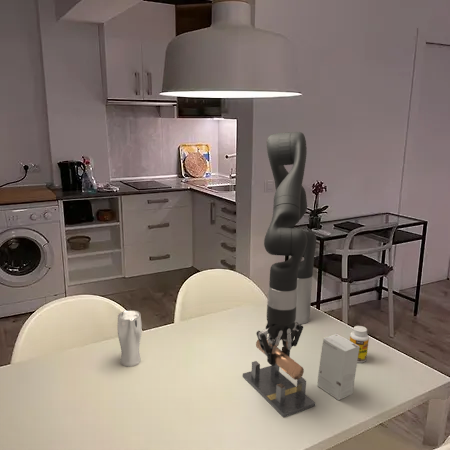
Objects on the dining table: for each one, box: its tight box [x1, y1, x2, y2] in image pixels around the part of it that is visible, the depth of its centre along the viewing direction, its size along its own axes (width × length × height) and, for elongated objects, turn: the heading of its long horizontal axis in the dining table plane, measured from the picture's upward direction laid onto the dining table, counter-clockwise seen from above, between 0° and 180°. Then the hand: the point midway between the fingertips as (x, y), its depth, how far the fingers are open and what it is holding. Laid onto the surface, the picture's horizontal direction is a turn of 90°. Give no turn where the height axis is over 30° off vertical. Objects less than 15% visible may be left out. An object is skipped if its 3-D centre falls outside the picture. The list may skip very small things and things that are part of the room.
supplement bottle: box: [349, 325, 370, 364], centre depth 142 cm, size 6×6×10 cm
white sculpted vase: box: [116, 310, 143, 367], centre depth 137 cm, size 7×7×15 cm
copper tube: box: [255, 339, 305, 381], centre depth 123 cm, size 17×4×4 cm, turn 28°
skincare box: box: [316, 333, 359, 401], centre depth 125 cm, size 8×6×15 cm
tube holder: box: [242, 360, 316, 418], centre depth 125 cm, size 20×10×6 cm, turn 28°
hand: (278, 362), depth 124 cm, fingers closed on copper tube, 3 cm apart
